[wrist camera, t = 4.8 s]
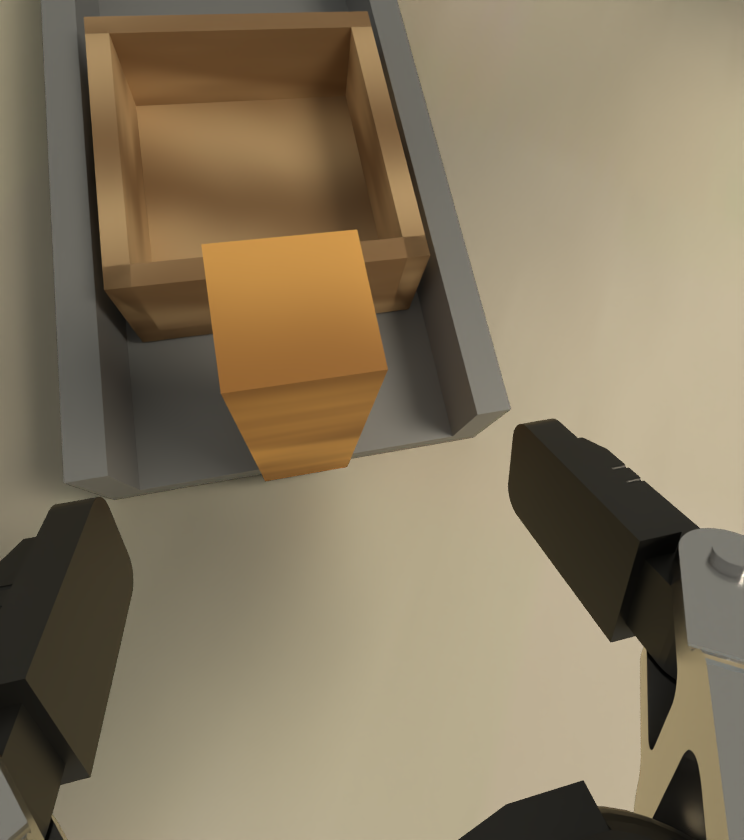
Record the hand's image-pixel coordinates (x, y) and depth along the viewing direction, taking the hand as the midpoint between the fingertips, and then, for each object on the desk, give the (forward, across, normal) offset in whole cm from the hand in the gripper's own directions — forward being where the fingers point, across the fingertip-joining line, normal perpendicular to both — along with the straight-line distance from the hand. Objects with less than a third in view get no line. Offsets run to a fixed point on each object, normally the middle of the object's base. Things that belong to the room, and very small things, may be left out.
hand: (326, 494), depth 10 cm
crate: (+13, 0, -2) cm, 13 cm away
